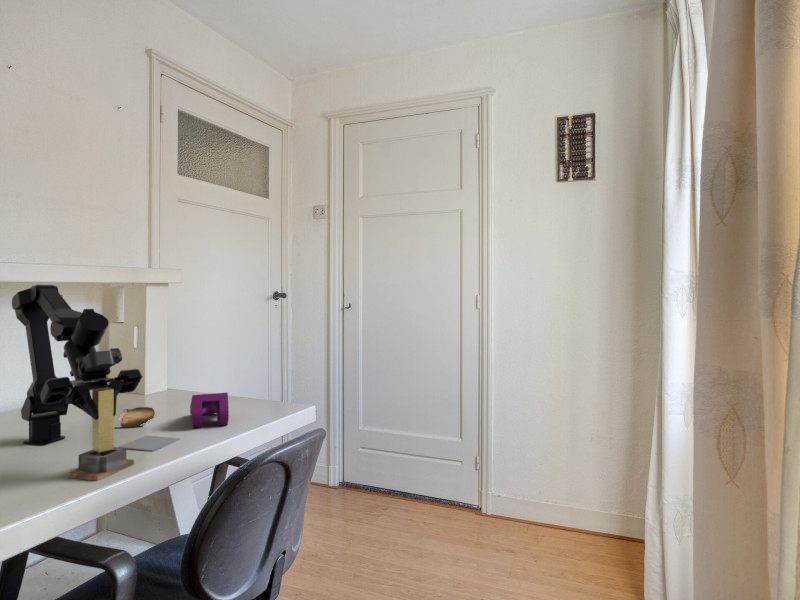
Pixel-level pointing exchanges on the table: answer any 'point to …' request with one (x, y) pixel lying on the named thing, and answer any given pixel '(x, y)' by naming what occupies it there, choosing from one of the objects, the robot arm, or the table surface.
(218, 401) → the mounting bracket
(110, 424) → the yellow rectangular block
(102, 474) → the grey block holder
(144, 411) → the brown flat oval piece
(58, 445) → the table surface
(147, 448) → the felt pad
